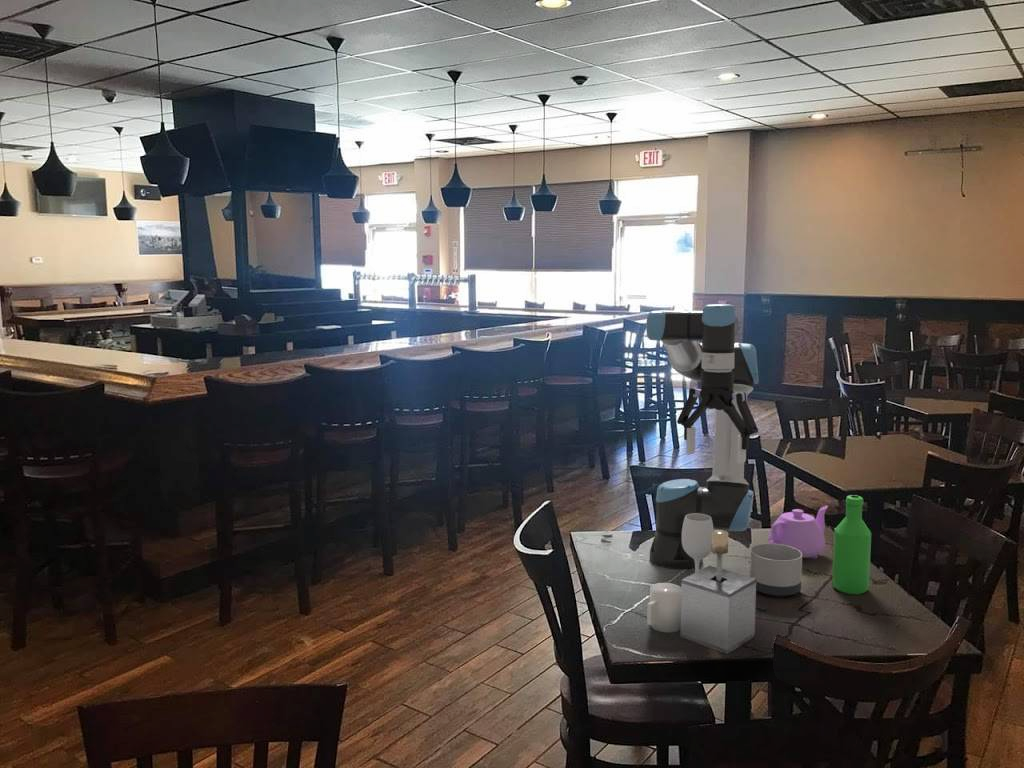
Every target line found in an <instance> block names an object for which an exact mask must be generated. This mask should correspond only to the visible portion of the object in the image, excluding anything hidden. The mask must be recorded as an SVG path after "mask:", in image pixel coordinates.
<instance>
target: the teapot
mask: <svg viewBox="0 0 1024 768" xmlns="http://www.w3.org/2000/svg"><path fill="white" fill-rule="evenodd" d="M828 508H829V506H828V505H823V506H821V507H820V508H819V509H818V512H817V515H816V518H815V517H814V516H813V515H811V514H809V513H804V510H803V509H801V508H800V509H799V508H796V509H792V511H789V512H784V513H781V514H780V515H779V517H778V518H777V519H776V520H775V521H774V523H773V524H772V525H771V529H770V531H769V534H768V544H781V545H786V546H790V547H793V548H796V549H798V550H799V551H801V553H802V559H803V558H809V559H811V558H812V559H813V560H818V559H819V556H818V555H820V554H821V553H822V552H823V551H824V550H825V547H826V540H825V534H824V532H825V527H826V526H825V525H826V524H825V513H826V510H828ZM817 558H818V559H817Z"/></svg>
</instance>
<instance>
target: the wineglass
mask: <svg viewBox="0 0 1024 768" xmlns="http://www.w3.org/2000/svg"><path fill="white" fill-rule="evenodd" d="M714 530H715V529H714V528H713V522H712V518H711V517H710V516H709V515H706V514H700V513H692V514H687V515H686V516H685V518H684V522H683V527H682V546H683V549H684V550H685V552H686V553H687V554H688V555H689V556H690V557H692V558H693V559H694V561H695V567H694V570H695V571H694V573H696V572H698V571H700V565H699V564H700V560H701V559H702V558H703V559H705V558H706V557H707V556H709V555H710V554H711V553H712V551H711V547H712V531H714Z"/></svg>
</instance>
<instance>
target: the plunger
mask: <svg viewBox="0 0 1024 768" xmlns="http://www.w3.org/2000/svg"><path fill="white" fill-rule="evenodd" d="M711 553H713V554H715V555H716V566H715V567H716V581H717V582H720V583H722V569H723V555H724V554H725V555H726V554H727V553H729V531H726V530H716V529H714V531H712V547H711Z"/></svg>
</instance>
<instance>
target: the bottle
mask: <svg viewBox="0 0 1024 768" xmlns="http://www.w3.org/2000/svg"><path fill="white" fill-rule="evenodd" d="M845 503H846V504H845V517H843V519H842V520H841V521H840V523H839V524H838V525H837V526H836V527H835V529H834V531H833V532H834V538H833V555H832V556H833V558H832V559H833V560H832V579H831V580H832V581H831V582H832V586H833V587H834V588H835V589H836V590H838V591H839V592H841V593H844V594H848V595H862V594H863V593H865V592H868V591H869V587H870V586H869V585H870V570H871V569H870V568H871V553H872V552H871V547H872V532H871V530H870V529H869V528H868V526H867V524H866V523H865V521H864V520H863V505H864V498H863V497H862V496H859V495H857V494H854V495H853V494H850V495H847V496H846V499H845Z"/></svg>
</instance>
